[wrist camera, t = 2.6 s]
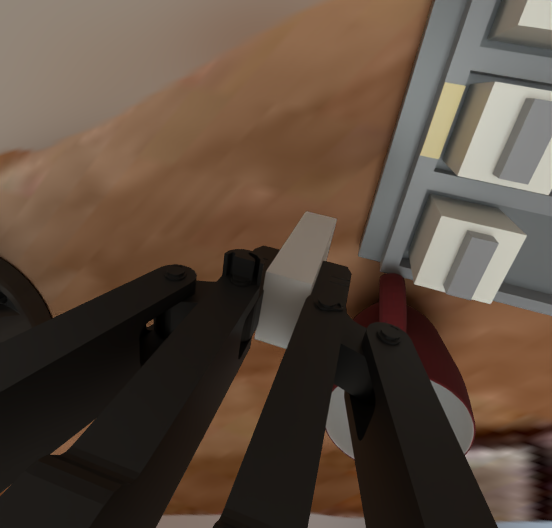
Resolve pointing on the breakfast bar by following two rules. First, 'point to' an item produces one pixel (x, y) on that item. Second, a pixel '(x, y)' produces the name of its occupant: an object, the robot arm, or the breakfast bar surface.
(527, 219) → the switch bank
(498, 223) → the tab
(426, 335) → the mug
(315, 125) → the breakfast bar surface
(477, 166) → the tab
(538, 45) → the white and grey block
